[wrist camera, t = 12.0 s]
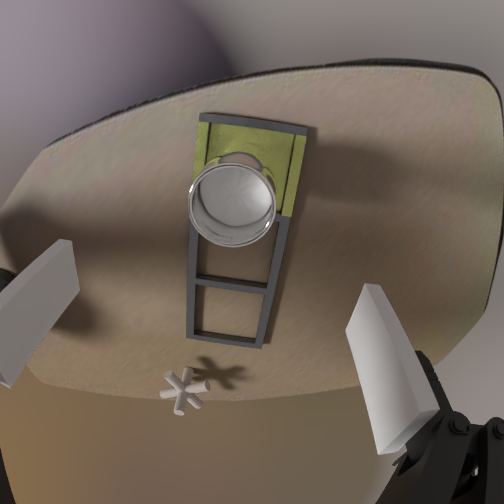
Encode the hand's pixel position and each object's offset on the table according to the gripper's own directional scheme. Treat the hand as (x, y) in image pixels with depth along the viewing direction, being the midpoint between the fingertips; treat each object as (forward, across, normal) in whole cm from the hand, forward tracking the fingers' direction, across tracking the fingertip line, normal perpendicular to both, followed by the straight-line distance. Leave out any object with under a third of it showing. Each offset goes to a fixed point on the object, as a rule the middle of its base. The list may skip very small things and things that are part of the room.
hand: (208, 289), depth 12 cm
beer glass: (+26, 0, 0) cm, 26 cm away
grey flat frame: (+26, 0, -11) cm, 28 cm away
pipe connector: (+26, -6, -38) cm, 46 cm away
